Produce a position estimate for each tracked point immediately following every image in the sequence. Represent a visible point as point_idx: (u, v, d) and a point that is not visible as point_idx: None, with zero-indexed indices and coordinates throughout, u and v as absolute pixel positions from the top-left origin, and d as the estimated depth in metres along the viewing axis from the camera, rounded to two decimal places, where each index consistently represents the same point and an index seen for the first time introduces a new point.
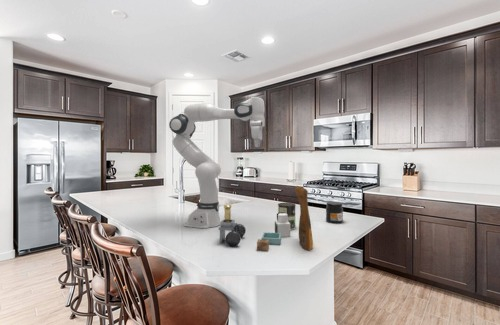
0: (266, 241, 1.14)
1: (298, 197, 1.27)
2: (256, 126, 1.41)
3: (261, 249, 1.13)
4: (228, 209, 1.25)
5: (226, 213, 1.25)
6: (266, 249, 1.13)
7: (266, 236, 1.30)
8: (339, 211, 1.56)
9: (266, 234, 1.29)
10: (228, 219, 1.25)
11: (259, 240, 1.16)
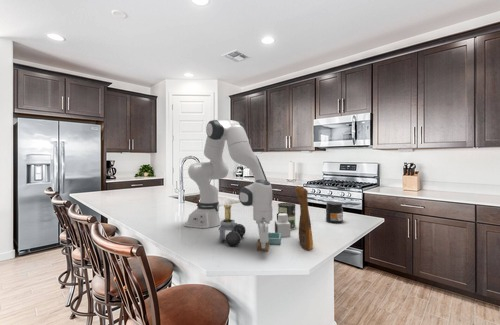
0: None
1: (298, 197, 1.27)
2: None
3: (261, 249, 1.13)
4: (228, 209, 1.25)
5: (226, 213, 1.25)
6: (266, 249, 1.13)
7: None
8: (339, 211, 1.56)
9: None
10: (228, 219, 1.25)
11: (259, 240, 1.15)
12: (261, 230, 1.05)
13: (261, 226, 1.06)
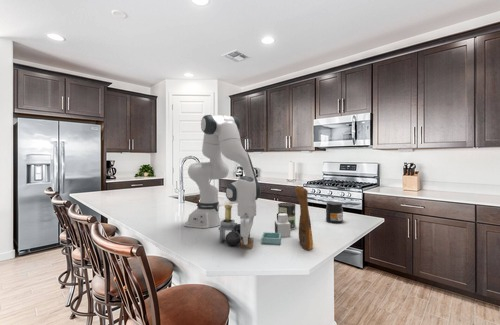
0: (250, 239, 1.17)
1: (298, 197, 1.27)
2: None
3: (245, 247, 1.16)
4: (228, 209, 1.25)
5: (226, 213, 1.25)
6: (250, 247, 1.16)
7: (266, 236, 1.30)
8: (339, 211, 1.56)
9: (266, 234, 1.29)
10: (228, 219, 1.25)
11: None
12: (241, 225, 1.08)
13: (242, 221, 1.09)
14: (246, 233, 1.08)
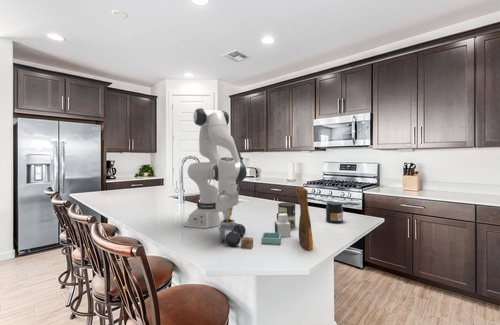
0: (250, 239, 1.17)
1: (298, 197, 1.27)
2: None
3: (245, 247, 1.16)
4: None
5: None
6: (250, 247, 1.16)
7: (266, 236, 1.30)
8: (339, 211, 1.56)
9: (266, 234, 1.29)
10: (227, 219, 1.25)
11: (243, 238, 1.19)
12: (216, 200, 1.18)
13: (217, 197, 1.18)
14: (220, 208, 1.17)
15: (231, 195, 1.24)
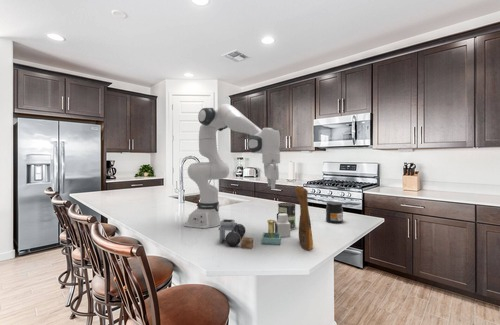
0: (250, 239, 1.17)
1: (298, 197, 1.27)
2: None
3: (245, 247, 1.16)
4: (273, 224, 1.24)
5: (271, 228, 1.24)
6: (250, 247, 1.16)
7: (266, 236, 1.30)
8: (339, 211, 1.56)
9: (266, 234, 1.29)
10: (273, 234, 1.24)
11: (243, 238, 1.19)
12: (272, 168, 1.15)
13: (272, 165, 1.15)
14: (277, 176, 1.14)
15: None
